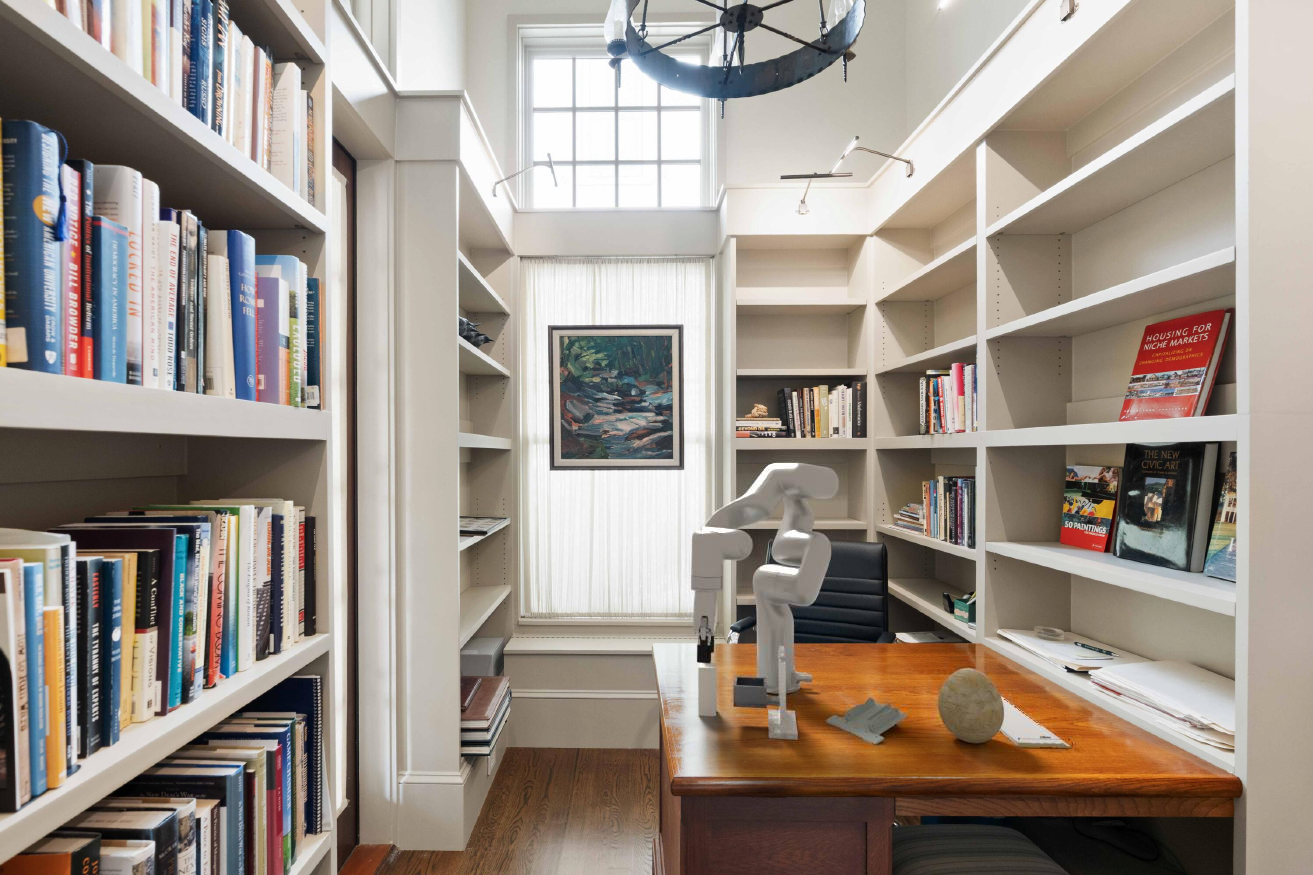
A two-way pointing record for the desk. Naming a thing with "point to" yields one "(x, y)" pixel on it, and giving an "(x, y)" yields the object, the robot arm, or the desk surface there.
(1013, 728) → the baseboard
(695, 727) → the desk surface
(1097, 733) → the desk surface
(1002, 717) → the fossilized egg
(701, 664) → the cream rectangular beam
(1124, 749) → the desk surface
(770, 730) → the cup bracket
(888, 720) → the metal bracket
